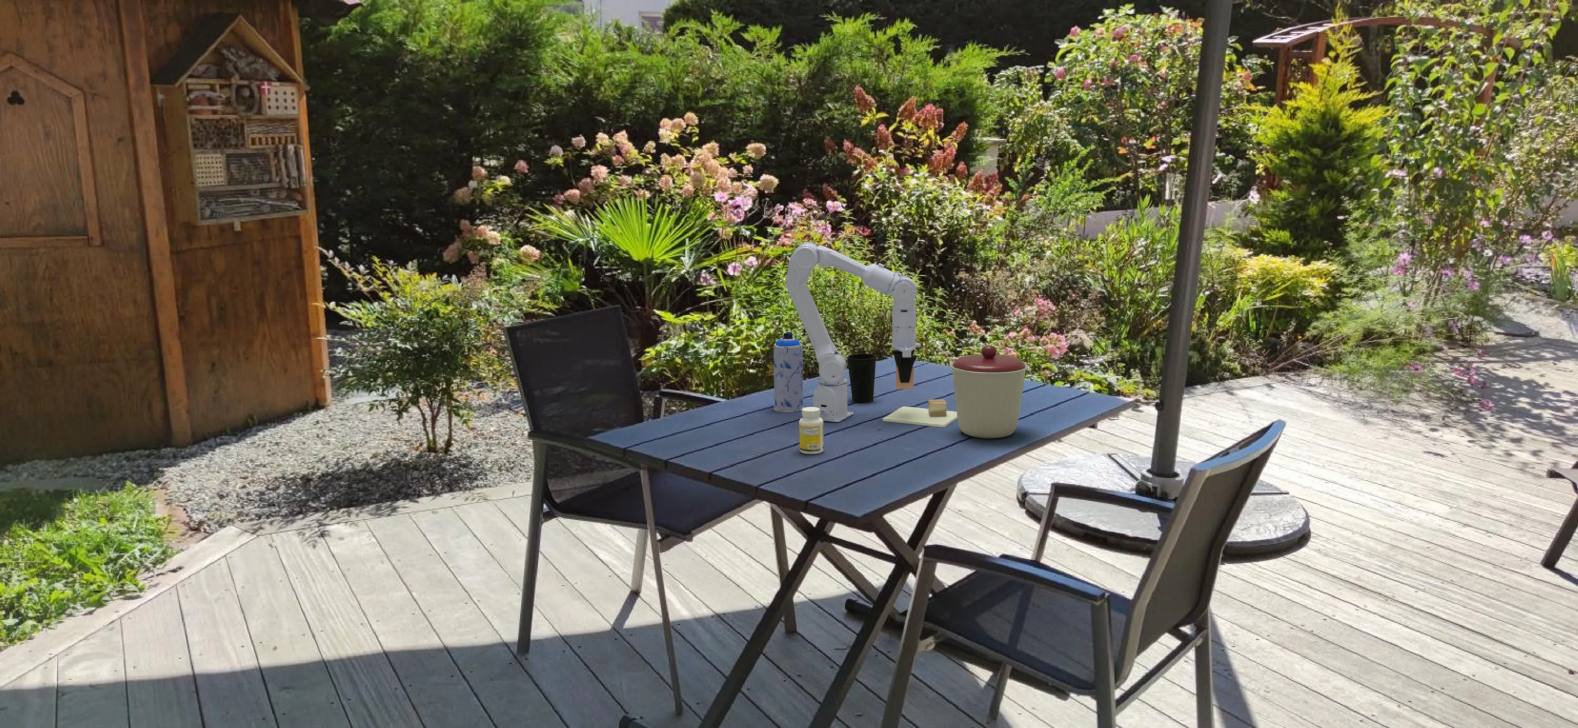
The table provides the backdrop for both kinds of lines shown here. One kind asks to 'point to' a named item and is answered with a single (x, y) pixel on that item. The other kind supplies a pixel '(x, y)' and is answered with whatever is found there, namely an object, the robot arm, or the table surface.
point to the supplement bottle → (811, 431)
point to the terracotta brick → (904, 385)
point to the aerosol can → (788, 374)
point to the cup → (862, 376)
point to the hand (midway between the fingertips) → (903, 380)
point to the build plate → (920, 417)
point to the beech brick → (937, 408)
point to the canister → (988, 393)
